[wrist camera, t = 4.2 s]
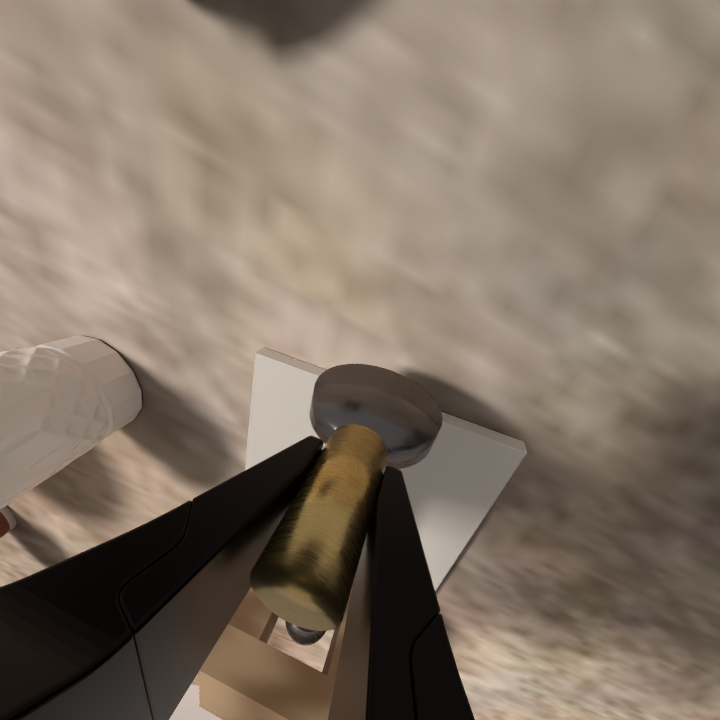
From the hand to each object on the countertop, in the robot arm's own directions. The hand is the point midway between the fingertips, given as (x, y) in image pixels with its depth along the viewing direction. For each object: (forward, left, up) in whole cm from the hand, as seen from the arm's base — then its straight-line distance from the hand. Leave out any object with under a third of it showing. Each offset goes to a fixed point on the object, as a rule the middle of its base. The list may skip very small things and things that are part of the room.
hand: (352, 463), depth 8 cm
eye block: (0, +18, -6) cm, 19 cm away
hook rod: (0, +8, -5) cm, 9 cm away
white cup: (+19, +9, -7) cm, 22 cm away
